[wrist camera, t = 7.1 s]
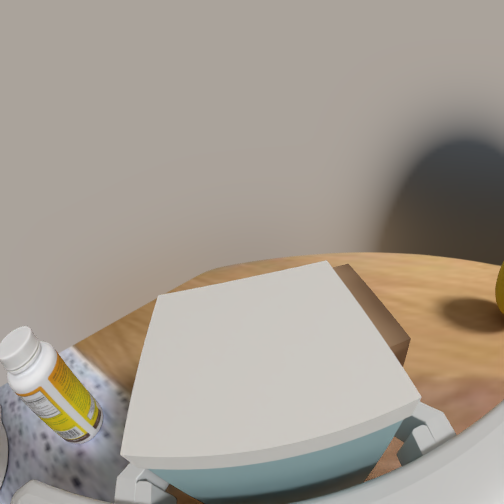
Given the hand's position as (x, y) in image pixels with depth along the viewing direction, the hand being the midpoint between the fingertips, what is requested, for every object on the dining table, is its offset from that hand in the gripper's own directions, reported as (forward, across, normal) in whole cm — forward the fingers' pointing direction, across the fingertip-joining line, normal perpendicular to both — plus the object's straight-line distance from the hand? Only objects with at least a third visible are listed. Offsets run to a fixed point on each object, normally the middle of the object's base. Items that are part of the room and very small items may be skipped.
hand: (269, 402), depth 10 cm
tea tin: (-1, 0, +6) cm, 6 cm away
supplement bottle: (+5, +17, +9) cm, 20 cm away
